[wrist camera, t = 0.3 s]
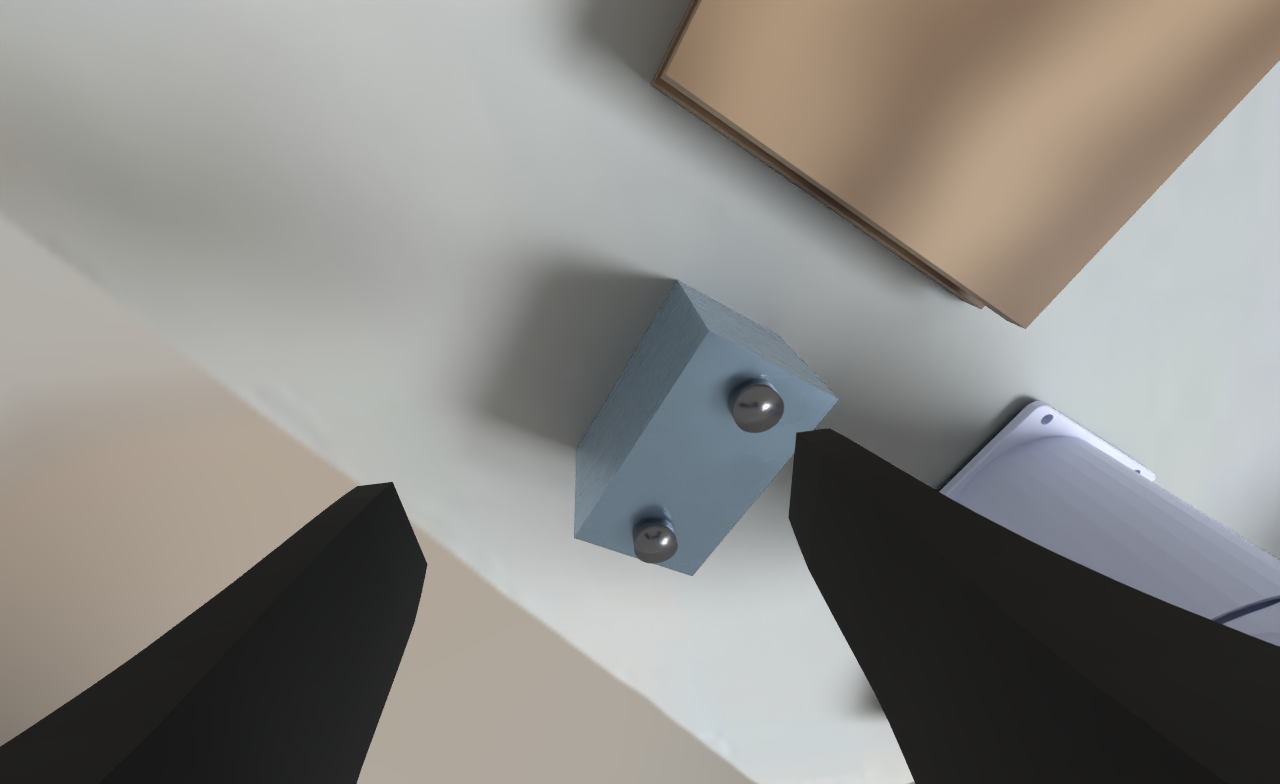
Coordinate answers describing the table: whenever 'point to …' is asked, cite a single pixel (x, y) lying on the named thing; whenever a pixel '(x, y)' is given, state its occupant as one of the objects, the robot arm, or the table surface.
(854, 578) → the robot arm
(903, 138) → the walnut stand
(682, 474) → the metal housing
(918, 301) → the table surface
